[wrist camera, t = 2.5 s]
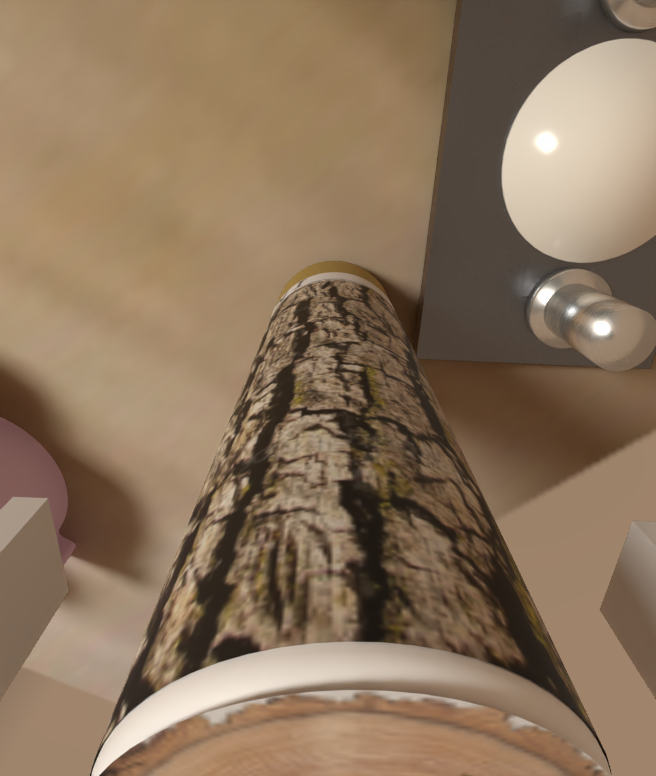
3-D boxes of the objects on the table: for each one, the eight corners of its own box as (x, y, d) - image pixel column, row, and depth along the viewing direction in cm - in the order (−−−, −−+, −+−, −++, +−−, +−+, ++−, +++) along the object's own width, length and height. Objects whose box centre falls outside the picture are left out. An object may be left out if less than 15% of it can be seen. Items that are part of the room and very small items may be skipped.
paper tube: (398, 263, 28) (734, 707, 5) (382, 373, 30) (548, 989, 7) (278, 253, 27) (22, 668, 4) (274, 365, 30) (102, 973, 7)
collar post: (534, 265, 26) (588, 290, 21) (614, 269, 26) (689, 294, 21) (518, 342, 28) (563, 383, 23) (592, 345, 28) (656, 387, 23)
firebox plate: (466, -72, 22) (473, -85, 20) (775, -53, 22) (798, -66, 21) (413, 351, 30) (416, 358, 29) (638, 361, 30) (650, 369, 29)
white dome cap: (523, 34, 22) (526, 32, 22) (738, 46, 22) (744, 44, 22) (484, 257, 26) (486, 258, 26) (666, 266, 26) (670, 267, 26)
